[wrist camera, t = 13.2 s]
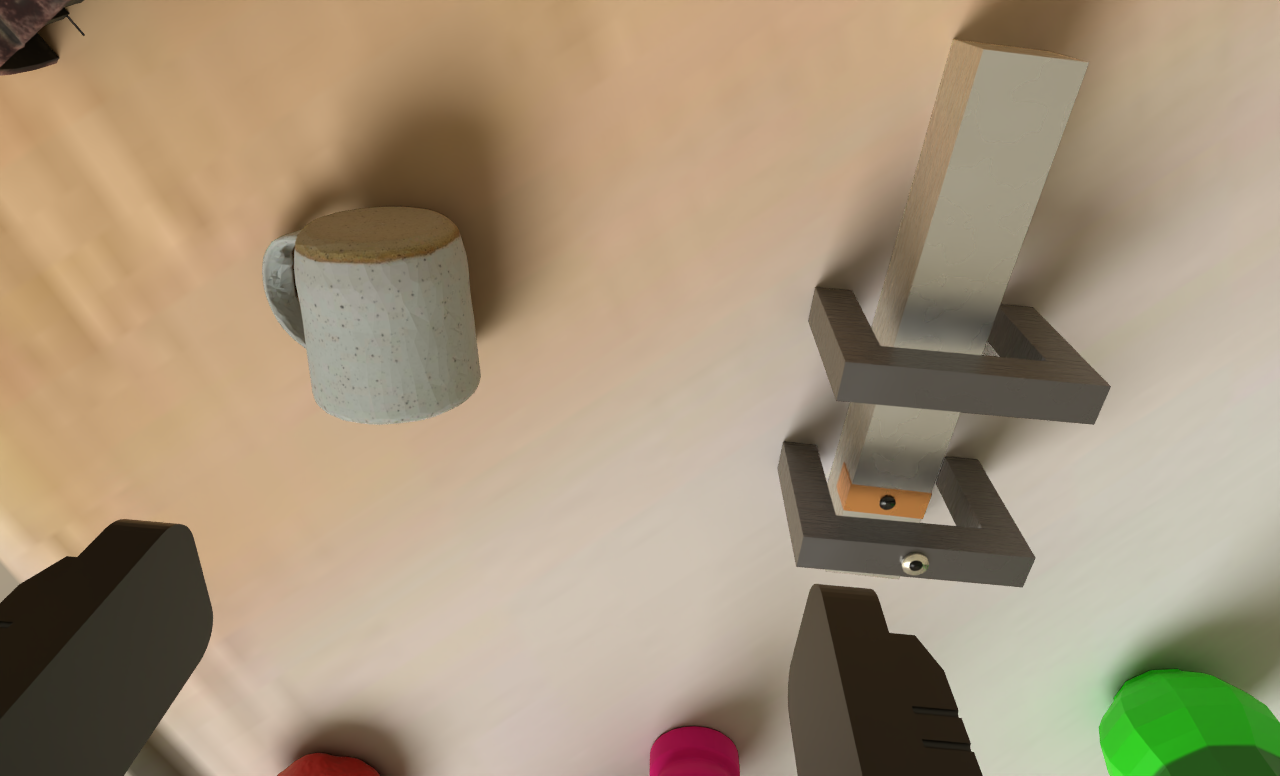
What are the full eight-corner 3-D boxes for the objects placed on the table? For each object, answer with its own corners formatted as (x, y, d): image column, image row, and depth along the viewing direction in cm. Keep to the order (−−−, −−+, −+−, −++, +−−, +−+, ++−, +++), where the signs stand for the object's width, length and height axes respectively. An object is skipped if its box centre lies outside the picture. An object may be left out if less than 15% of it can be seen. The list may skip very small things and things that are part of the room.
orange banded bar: (949, 37, 32) (983, 49, 29) (1045, 50, 33) (1092, 63, 29) (813, 523, 45) (825, 573, 42) (882, 530, 45) (900, 581, 42)
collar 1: (815, 287, 38) (845, 362, 31) (1033, 307, 38) (1110, 386, 31) (808, 320, 39) (836, 400, 32) (1020, 340, 39) (1094, 424, 32)
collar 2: (783, 441, 42) (804, 540, 35) (977, 459, 42) (1037, 561, 35) (777, 468, 43) (796, 570, 36) (968, 486, 43) (1024, 590, 36)
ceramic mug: (479, 197, 36) (430, 253, 30) (497, 354, 40) (457, 435, 34) (258, 196, 37) (162, 251, 30) (297, 350, 41) (220, 429, 34)
